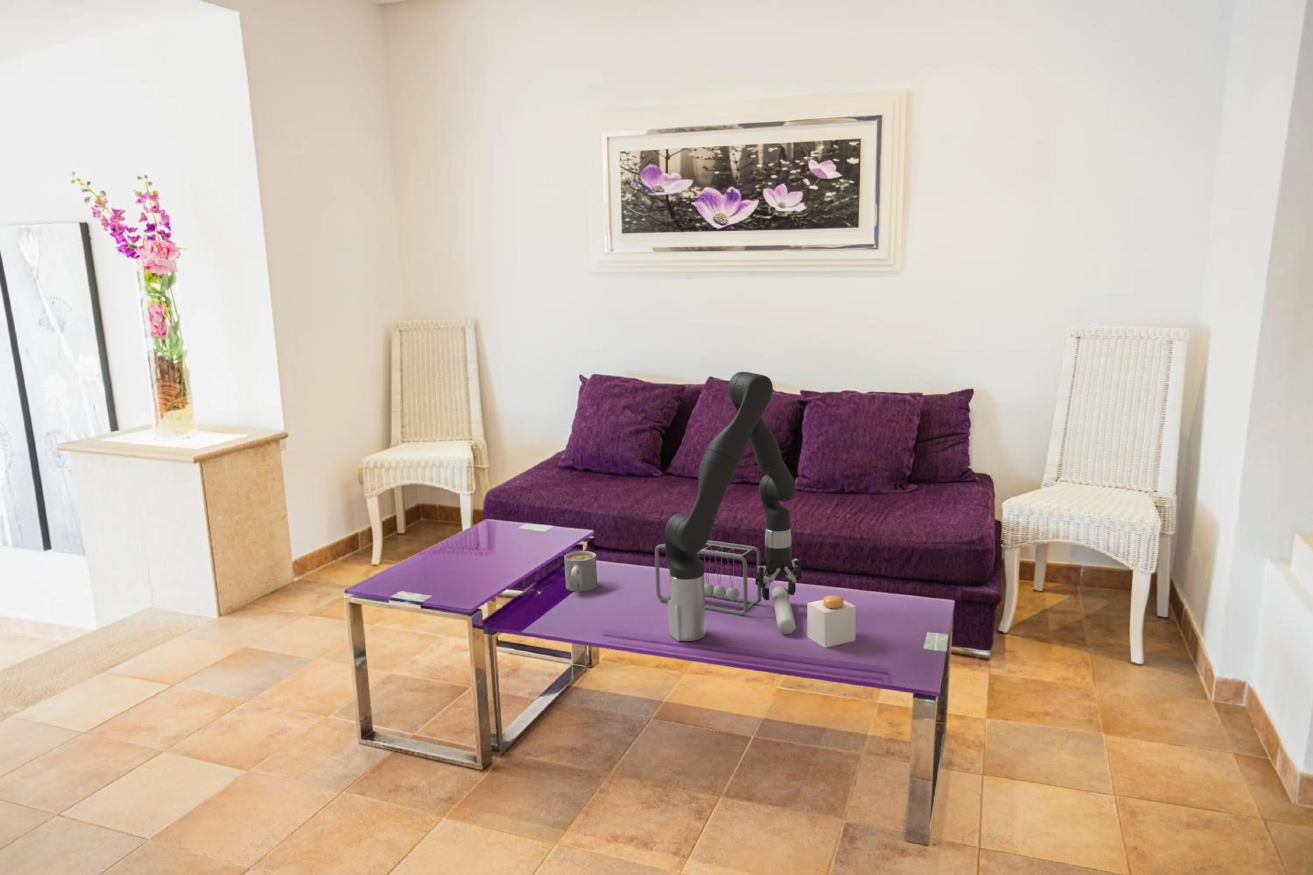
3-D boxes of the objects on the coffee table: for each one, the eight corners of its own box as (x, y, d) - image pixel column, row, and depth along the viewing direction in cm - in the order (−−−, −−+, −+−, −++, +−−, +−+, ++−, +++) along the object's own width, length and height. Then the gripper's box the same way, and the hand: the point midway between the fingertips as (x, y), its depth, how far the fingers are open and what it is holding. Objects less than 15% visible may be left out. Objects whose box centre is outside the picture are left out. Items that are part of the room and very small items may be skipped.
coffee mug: (574, 579, 292) (573, 549, 290) (602, 582, 288) (601, 552, 286) (555, 593, 279) (553, 562, 278) (583, 596, 276) (582, 565, 274)
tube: (800, 631, 240) (792, 597, 265) (790, 615, 239) (783, 582, 264) (783, 641, 241) (777, 606, 265) (773, 625, 240) (767, 591, 265)
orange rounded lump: (830, 616, 232) (831, 603, 232) (819, 610, 237) (819, 597, 237) (847, 612, 235) (847, 600, 234) (835, 606, 239) (836, 594, 239)
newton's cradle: (762, 604, 264) (761, 546, 261) (746, 617, 255) (745, 557, 252) (673, 589, 279) (671, 534, 276) (656, 600, 270) (653, 543, 267)
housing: (824, 647, 233) (824, 612, 231) (807, 636, 240) (807, 602, 238) (855, 640, 236) (855, 606, 235) (837, 630, 244) (837, 596, 242)
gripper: (763, 550, 252) (764, 605, 255) (806, 542, 258) (806, 596, 261) (750, 543, 259) (751, 597, 262) (792, 536, 265) (792, 588, 268)
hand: (779, 596), depth 262 cm, fingers open, 8 cm apart
